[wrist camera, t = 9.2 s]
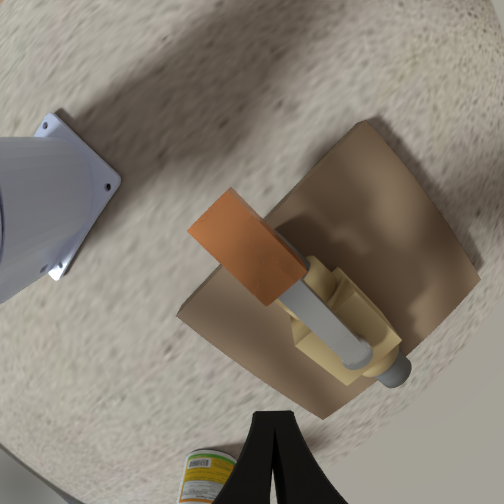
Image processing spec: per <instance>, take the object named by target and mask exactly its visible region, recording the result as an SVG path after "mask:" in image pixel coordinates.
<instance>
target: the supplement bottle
mask: <svg viewBox="0 0 504 504" xmlns="http://www.w3.org/2000/svg"><path fill="white" fill-rule="evenodd" d="M236 463H237V461H236V460H235V459H234V458H233V457H232V456H230V455H228V454H226V453H223V452H219V451H214V450H198V451H194V452H192V453H190V454H189V455H188V456H187V458H186V460H185V464H184V469H183V473H182V478H181V483H180V487H179V492H178V496H177V501H176V504H211V503H212V502H213V501H214V499H215V498H216V496H217V495H218V494H219V492H220V491H221V489H222V487H223V486H224V484H225V483H226V481H227V479H228V478H229V476H230V474H231V472H232V470H233V468H234V466H235V464H236Z"/></svg>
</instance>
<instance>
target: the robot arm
mask: <svg viewBox="0 0 504 504" xmlns="http://www.w3.org/2000/svg"><path fill="white" fill-rule="evenodd" d="M47 123H48V127H47V128H46V124H47ZM108 183H109V184H110V185H111V190H110V191H109V190H108V189H107V184H108ZM120 184H121V177H120V176H119V174H118V173H117V172H116V171H114V170H113V169H112V168H111V167H110V166H109V165H108V164H107V163H106V162H105V161H104V160H103V159H102V158H101V157H100V156H98V155H97V154H96V153H95V152H94V151H93V150H92V149H91V148H90V147H89V146H88V145H87V144H86V143H85V142H84V141H83V140H82V139H81V138H80V137H79V136H78V135H76V134H75V133H74V132H73V131H72V130H71V129H70V128H69V127H68V126H67V125H66V124H65V123H64V122H63V121H62V120H61V119H60V118H59V117H58V116H57V115H56V114H55V113H48V114H47V115H46V116H45V118H44V120H43V121H42V123H41V125H40V126H39V128H38V130H37V132H36V133H35V135H34V137H0V304H2V303H4V302H5V301H7V300H8V299H10V298H11V297H13V296H14V295H15V294H17V293H18V292H20V291H21V290H23V289H24V288H26V287H27V286H29V285H30V284H32V283H33V282H35V281H36V280H38V279H39V278H41V277H42V276H44V275H46V274H47V273H48V274H49V275H50V276H51V277H52V278H53V279H54V280H59V279H61V278H62V276H63V274H64V273H65V271H66V269H67V267H68V265H69V264H70V262H71V260H72V259H73V257H74V255H75V253H76V252H77V250H78V248H79V247H80V245H81V243H82V242H83V240H84V238H85V237H86V235H87V234H88V232H89V230H90V229H91V227H92V226H93V224H94V223H95V221H96V219H97V218H98V216H99V215H100V213H101V212H102V210H103V209H104V207H105V206H106V204H107V203H108V201H109V200H110V199H111V197H112V196H113V194H114V193H115V191H116V190H117V189H118V187H119V186H120ZM60 262H62V264H63V266H61V264H60ZM272 469H273V474H274V481H275V489H276V497H277V503H278V504H348V503H347V502H346V501H345V500H344V498H343V497H342V496H341V495H340V494H339V493H338V491H337V490H336V489H335V488H334V486H333V485H332V484H331V483H330V481H329V480H328V479H327V477H326V476H325V474H324V473H323V471H322V470H321V468H320V467H319V465H318V463H317V462H316V460H315V459H314V457H313V455H312V453H311V451H310V450H309V448H308V446H307V444H306V442H305V440H304V438H303V436H302V434H301V432H300V429H299V427H298V424H297V422H296V419H295V416H294V412H292V411H291V410H288V411H256V412H254V413H253V417H252V423H251V427H250V430H249V433H248V436H247V439H246V442H245V444H244V447H243V449H242V452H241V454H240V456H239V458H238V461H237V463H236V464H235V466H234V468H233V470H232V472H231V474H230V476H229V478H228V479H227V481H226V483H225V484H224V486H223V487H222V489H221V491H220V492H219V494H218V495H217V496H216V498H215V499H214V501H213V502H212V503H211V504H270V491H271V480H272Z"/></svg>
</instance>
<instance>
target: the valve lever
mask: <svg viewBox="0 0 504 504" xmlns="http://www.w3.org/2000/svg"><path fill="white" fill-rule="evenodd" d="M187 232H188V233H190V234H191V235H192V236H193V237H194V238H195V239H196V240H197V241H198V242H199V243H200V244H201V245H202V246H203V247H204V248H205V249H206V250H207V251H208V252H209V253H210V254H211V255H212V256H213V257H214V258H215V259H216V260H217V261H218V262H219V263H220V264H221V265H222V266H224V267H225V268H226V269H227V270H228V271H229V272H230V273H231V274H232V275H233V276H234V277H235V278H236V279H237V280H238V281H239V282H240V283H241V284H242V285H243V286H244V287H246V288H247V289H248V290H249V291H250V292H251V293H252V294H253V295H254V296H255V297H256V298H257V299H258V300H259V301H260V302H261V303H263V304H264V305H265V306H266V307H268V306H269V305H270V304H271V303H272V302H273V301H275V300H276V299H277V298H278V299H279V300H280V301H281V302H282V303H283V304H284V305H285V306H286V307H287V308H288V309H289V310H290V311H291V312H293V313H294V314H295V315H296V316H297V317H298V318H299V319H300V320H301V321H302V322H303V323H304V324H305V325H306V326H307V327H308V328H309V329H310V330H311V331H312V332H313V333H315V334H316V335H317V336H318V337H319V338H320V339H321V340H322V341H323V342H324V343H325V344H326V345H327V346H328V347H329V348H330V349H331V350H333V351H334V352H335V353H336V354H337V355H338V356H339V357H340V358H341V361H342V364H343V366H344V367H345V368H347V369H349V370H358V369H361V368H363V367H365V366H366V365H368V364H369V362H370V361H371V360H372V357H373V350H372V348H371V346H370V344H369V342H368V341H367V339H366V337H365V336H363V335H360V334H355V333H354V332H353V331H352V330H351V329H350V327H349V326H348V325H347V324H346V323H345V322H344V321H343V320H342V319H341V318H340V317H339V316H338V315H337V314H336V313H335V312H334V311H333V310H332V309H331V308H330V307H329V305H328V304H327V303H326V302H325V301H324V300H323V299H322V298H321V297H320V296H319V295H318V294H317V293H316V292H315V291H314V290H313V289H312V288H311V287H310V286H309V285H308V284H307V283H306V282H305V281H304V280H303V279H302V278H301V277H303V276H304V275H305V274H306V273H307V269H306V267H305V265H304V262H303V260H302V259H301V258H300V257H299V256H298V255H297V254H296V253H295V252H294V251H293V250H292V249H291V248H290V247H289V246H288V245H287V244H286V243H285V241H284V240H283V239H282V238H281V237H280V236H279V235H278V234H277V233H276V232H275V231H274V230H273V229H272V228H271V227H270V226H269V225H268V224H267V223H266V222H265V221H264V220H263V219H262V218H261V217H260V216H259V215H258V214H257V213H256V212H255V211H254V210H253V209H252V208H251V207H250V206H249V205H248V203H247V202H246V201H245V200H244V199H243V198H242V197H241V196H240V195H239V194H238V193H237V192H236V191H235V190H234V189H233V188H232V187H230V188H229V189H228V190H227V191H226V192H225V193H224V194H223V195H222V196H221V197H220V198H219V199H218V200H217V201H216V202H215V203H214V204H213V205H212V206H211V207H210V208H209V209H208V210H207V211H206V212H205V213H204V214H203V215H202V216H201V217H200V218H199V219H198V220H197V221H196V222H195V223H194V224H193V225H192V226H191V227H190V228H189V229H188V230H187Z"/></svg>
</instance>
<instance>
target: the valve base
mask: <svg viewBox="0 0 504 504" xmlns="http://www.w3.org/2000/svg"><path fill="white" fill-rule="evenodd" d="M263 220H264V221H265V222H266V223H267V224H268V225H269V226H270V227H271V228H272V229H273V230H274V231H275V232H276V233H277V234H278V235H279V236H280V237H281V238H282V239H283V240H284V241H285V243H286V244H287V245H288V246H289V247H290V248H291V249H292V250H293V251H294V252H295V253H296V254H297V255H298V256H299V257H300V258H301V259H302V260H303V262H304V265H305V267H306V269H307V273H306V274H305V275H304V276H303V277H301V278H302V279H303V280H304V281H305V282H306V283H307V284H308V285H309V286H310V287H311V288H312V289H313V290H314V291H315V292H316V293H317V294H318V295H319V296H320V297H321V298H322V299H323V300H324V301H325V302H326V303H327V304H328V305H329V307H330V308H331V309H332V310H333V311H334V312H335V313H336V314H337V315H338V316H339V317H340V318H341V319H342V320H343V321H344V322H345V323H346V324H347V325H348V326H349V327H350V329H351V330H352V331H353V332H354V333H355V334H360V335H363V336H365V337H366V339H367V341H368V342H369V344H370V346H371V348H372V350H373V357H372V360H371V361H370V362H369V364H368V365H366V366H365V367H363V368H361V369H358V370H349V369H347V368H345V367H344V366H343V364H342V361H341V358H340V357H339V356H338V355H337V354H336V353H335V352H334V351H333V350H331V349H330V348H329V347H328V346H327V345H326V344H325V343H324V342H323V341H322V340H321V339H320V338H319V337H318V336H317V335H316V334H315V333H313V332H312V331H311V330H310V329H309V328H308V327H307V326H306V325H305V324H304V323H303V322H302V321H301V320H300V319H299V318H298V317H297V316H296V315H295V314H294V313H293V312H291V311H290V310H289V309H288V308H287V307H286V306H285V305H284V304H283V303H282V302H281V301H280V300H279V299H278V298H277V299H276V300H275V301H273V302H272V303H271V304H270V305H269V306H268V307H266V306H265V305H264V304H263V303H261V302H260V301H259V300H258V299H257V298H256V297H255V296H254V295H253V294H252V293H251V292H250V291H249V290H248V289H247V288H246V287H244V286H243V285H242V284H241V283H240V282H239V281H238V280H237V279H236V278H235V277H234V276H233V275H232V274H231V273H230V272H229V271H228V270H227V269H226V268H225V267H224V266H222V265H221V264H220V265H219V266H218V267H217V268H216V269H215V270H214V271H213V272H212V273H211V274H210V275H209V277H208V278H207V279H206V280H205V281H204V282H203V283H202V284H201V285H200V286H199V287H198V288H197V289H196V290H195V291H194V292H193V294H192V295H191V296H190V297H189V298H188V299H187V300H186V301H185V302H184V303H183V304H182V305H181V307H180V309H179V311H178V313H177V315H176V316H177V317H178V318H179V319H181V320H182V321H183V322H184V323H186V324H187V325H188V326H189V327H191V328H192V329H193V330H194V331H196V332H197V333H198V334H199V335H201V336H202V337H203V338H205V339H206V340H207V341H209V342H210V343H211V344H212V345H214V346H215V347H216V348H218V349H219V350H220V351H222V352H223V353H224V354H226V355H227V356H228V357H230V358H231V359H233V360H234V361H235V362H237V363H238V364H239V365H241V366H242V367H244V368H245V369H246V370H248V371H249V372H251V373H252V374H254V375H255V376H256V377H258V378H259V379H261V380H262V381H264V382H265V383H267V384H268V385H269V386H271V387H272V388H274V389H275V390H277V391H278V392H280V393H281V394H283V395H284V396H286V397H288V398H289V399H291V400H292V401H294V402H295V403H297V404H298V405H300V406H301V407H303V408H305V409H306V410H308V411H309V412H311V413H313V414H314V415H316V416H318V417H319V418H321V419H322V420H324V419H325V418H327V417H328V416H330V415H331V414H332V413H334V412H335V411H337V410H338V409H340V408H341V407H343V406H344V405H345V404H347V403H348V402H349V401H351V400H352V399H354V398H355V397H356V396H358V395H359V394H360V393H362V392H363V391H364V390H366V389H367V388H368V387H369V386H371V385H372V384H373V383H375V382H376V381H377V380H379V381H380V382H381V383H382V384H384V385H385V386H386V387H388V388H395V387H398V386H400V385H401V384H403V383H404V382H405V381H406V380H407V378H408V377H409V375H410V373H411V368H412V366H411V362H410V361H409V360H408V359H407V358H406V356H407V355H408V354H409V353H410V352H411V351H412V350H413V349H415V348H416V347H417V346H418V345H419V344H420V343H421V342H422V341H423V340H424V339H425V338H426V337H427V336H428V335H429V334H431V333H432V332H433V331H434V330H435V329H436V328H437V327H438V326H439V325H440V324H441V323H442V322H443V321H444V320H445V319H446V318H447V317H448V315H449V314H450V313H451V312H452V311H453V310H454V309H455V308H456V307H457V306H458V305H459V304H460V303H461V302H462V301H463V299H464V298H465V297H466V296H467V295H468V294H469V293H470V292H471V290H472V289H473V288H474V287H475V286H476V285H477V283H478V282H479V281H480V280H481V279H480V277H479V275H478V274H477V272H476V270H475V268H474V266H473V265H472V263H471V261H470V259H469V258H468V256H467V254H466V253H465V251H464V249H463V248H462V246H461V244H460V243H459V241H458V239H457V238H456V236H455V235H454V233H453V232H452V230H451V228H450V227H449V225H448V224H447V222H446V221H445V219H444V218H443V216H442V215H441V213H440V212H439V211H438V209H437V208H436V206H435V205H434V203H433V202H432V201H431V199H430V198H429V196H428V195H427V194H426V192H425V191H424V190H423V188H422V187H421V186H420V184H419V183H418V182H417V180H416V179H415V178H414V176H413V175H412V174H411V173H410V171H409V170H408V169H407V168H406V166H405V165H404V164H403V163H402V161H401V160H400V159H399V158H398V156H397V155H396V154H395V153H394V152H393V151H392V149H391V148H390V147H389V146H388V145H387V144H386V142H385V141H384V140H383V139H382V138H381V137H380V136H379V134H378V133H377V132H376V131H375V130H374V129H373V128H372V127H371V126H370V125H369V123H368V122H367V121H366V120H364V121H361V122H358V123H356V124H355V125H354V126H353V127H352V128H351V129H350V131H349V132H348V133H347V134H346V135H345V136H344V137H343V138H342V139H341V140H340V141H339V142H338V143H337V144H336V145H335V146H334V147H333V148H332V149H331V150H330V151H329V152H328V153H327V154H326V155H325V156H324V157H323V158H322V159H321V160H320V161H319V162H318V163H317V164H316V165H315V166H314V167H313V168H312V169H311V170H310V171H309V172H308V173H307V174H306V175H305V176H304V177H303V178H302V179H301V180H300V181H299V183H298V184H297V185H296V186H295V187H294V188H293V189H292V190H291V191H290V192H289V193H288V194H287V195H286V196H285V197H284V198H283V199H282V200H281V201H280V202H279V203H278V204H277V205H276V206H275V207H274V208H273V209H272V210H271V211H270V213H269V214H268V215H267V216H266V217H265V218H264V219H263Z"/></svg>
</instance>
